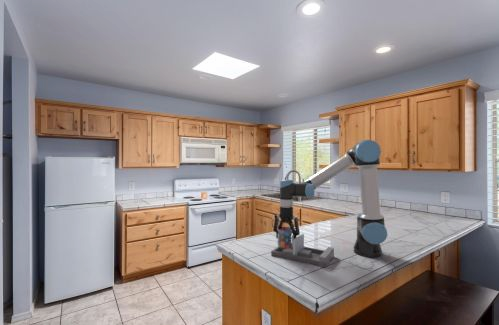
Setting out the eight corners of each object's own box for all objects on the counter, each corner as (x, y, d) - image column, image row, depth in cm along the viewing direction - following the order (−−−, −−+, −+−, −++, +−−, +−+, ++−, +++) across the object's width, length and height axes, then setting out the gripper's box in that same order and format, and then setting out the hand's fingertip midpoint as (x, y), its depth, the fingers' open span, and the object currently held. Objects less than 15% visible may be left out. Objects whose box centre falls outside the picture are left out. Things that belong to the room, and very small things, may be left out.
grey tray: (333, 256, 142) (333, 247, 142) (325, 267, 127) (325, 257, 127) (284, 246, 157) (284, 238, 157) (271, 255, 143) (271, 246, 143)
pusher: (313, 252, 146) (314, 235, 146) (305, 260, 134) (305, 241, 134) (302, 250, 150) (302, 233, 149) (293, 258, 138) (293, 239, 138)
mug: (283, 250, 140) (283, 231, 140) (273, 246, 148) (273, 227, 148) (300, 247, 146) (300, 228, 146) (290, 242, 154) (290, 225, 154)
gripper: (306, 207, 145) (305, 247, 145) (273, 203, 156) (272, 240, 156) (301, 209, 138) (301, 250, 139) (267, 205, 150) (267, 244, 150)
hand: (286, 245), depth 147 cm, fingers closed on mug, 8 cm apart
